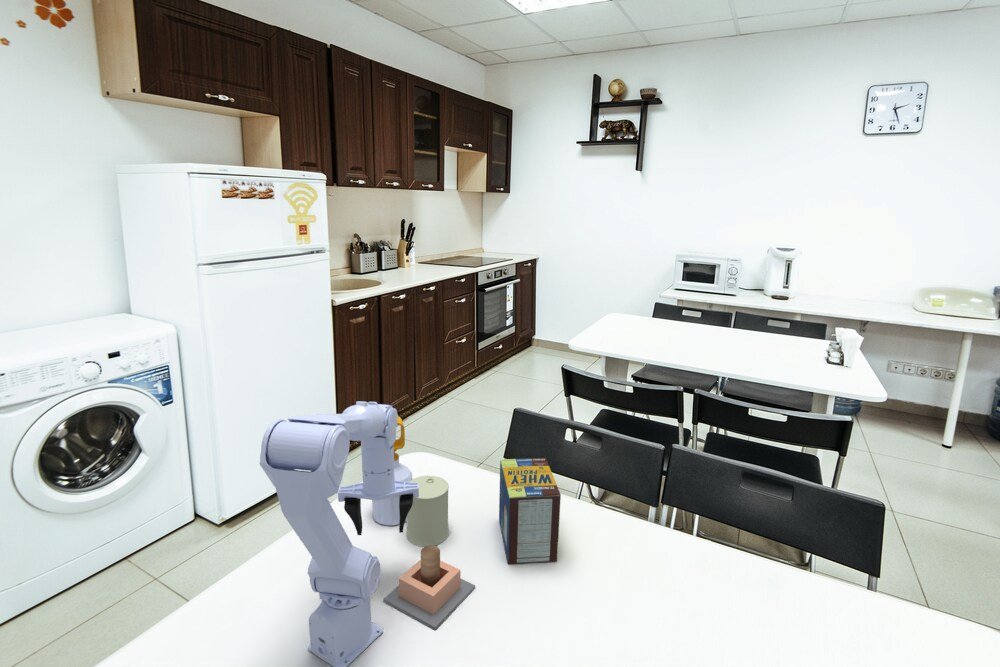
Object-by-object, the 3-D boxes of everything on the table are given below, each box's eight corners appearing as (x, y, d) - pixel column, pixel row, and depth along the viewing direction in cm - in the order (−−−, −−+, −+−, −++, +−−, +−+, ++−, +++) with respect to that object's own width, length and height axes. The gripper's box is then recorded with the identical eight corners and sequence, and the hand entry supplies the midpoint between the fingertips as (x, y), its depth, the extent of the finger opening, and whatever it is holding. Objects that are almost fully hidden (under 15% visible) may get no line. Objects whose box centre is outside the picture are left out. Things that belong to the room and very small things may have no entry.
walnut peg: (431, 598, 97) (432, 560, 95) (416, 590, 98) (416, 553, 96) (443, 587, 100) (444, 549, 98) (428, 579, 101) (428, 543, 99)
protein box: (543, 517, 124) (546, 456, 119) (557, 562, 109) (561, 494, 105) (497, 520, 122) (499, 458, 118) (506, 565, 108) (508, 497, 103)
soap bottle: (371, 506, 126) (367, 409, 120) (410, 501, 129) (408, 406, 122) (374, 529, 118) (370, 426, 111) (415, 522, 120) (413, 422, 114)
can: (452, 522, 121) (452, 474, 118) (444, 548, 112) (444, 498, 109) (412, 519, 122) (411, 471, 119) (401, 545, 113) (399, 494, 110)
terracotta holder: (435, 630, 91) (435, 608, 90) (383, 601, 97) (382, 580, 96) (475, 588, 101) (475, 567, 100) (425, 564, 107) (425, 544, 106)
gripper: (418, 453, 103) (419, 515, 106) (340, 457, 101) (344, 520, 104) (418, 472, 96) (419, 538, 100) (334, 476, 94) (338, 543, 97)
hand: (380, 530), depth 101 cm, fingers open, 7 cm apart
